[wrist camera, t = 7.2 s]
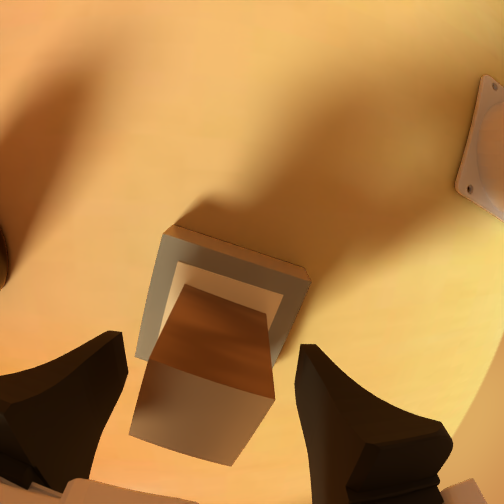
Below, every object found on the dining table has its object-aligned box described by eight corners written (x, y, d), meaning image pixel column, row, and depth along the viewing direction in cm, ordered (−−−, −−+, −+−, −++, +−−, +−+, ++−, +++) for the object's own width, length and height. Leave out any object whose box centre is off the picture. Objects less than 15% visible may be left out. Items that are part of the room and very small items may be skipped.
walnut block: (266, 313, 15) (275, 399, 9) (235, 376, 16) (231, 466, 10) (184, 283, 14) (148, 358, 9) (162, 350, 16) (128, 434, 10)
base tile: (304, 267, 17) (311, 282, 15) (258, 373, 18) (259, 395, 16) (173, 224, 16) (162, 233, 14) (144, 338, 18) (134, 357, 16)
